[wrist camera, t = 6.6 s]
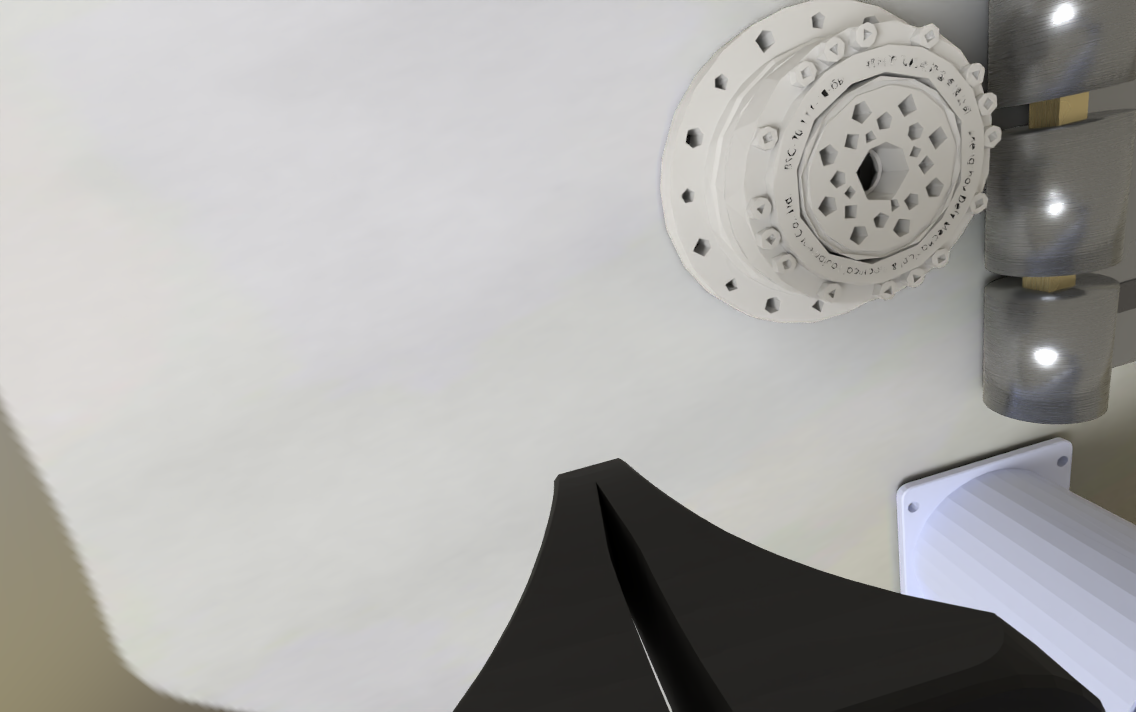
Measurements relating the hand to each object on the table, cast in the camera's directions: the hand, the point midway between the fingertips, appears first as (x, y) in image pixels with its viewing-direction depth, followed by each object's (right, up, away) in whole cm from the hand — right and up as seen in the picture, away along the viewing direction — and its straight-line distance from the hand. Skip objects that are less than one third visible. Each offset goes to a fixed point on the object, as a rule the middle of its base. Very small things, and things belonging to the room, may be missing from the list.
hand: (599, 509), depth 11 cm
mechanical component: (+7, +9, +8) cm, 15 cm away
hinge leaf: (+18, +10, +10) cm, 23 cm away
